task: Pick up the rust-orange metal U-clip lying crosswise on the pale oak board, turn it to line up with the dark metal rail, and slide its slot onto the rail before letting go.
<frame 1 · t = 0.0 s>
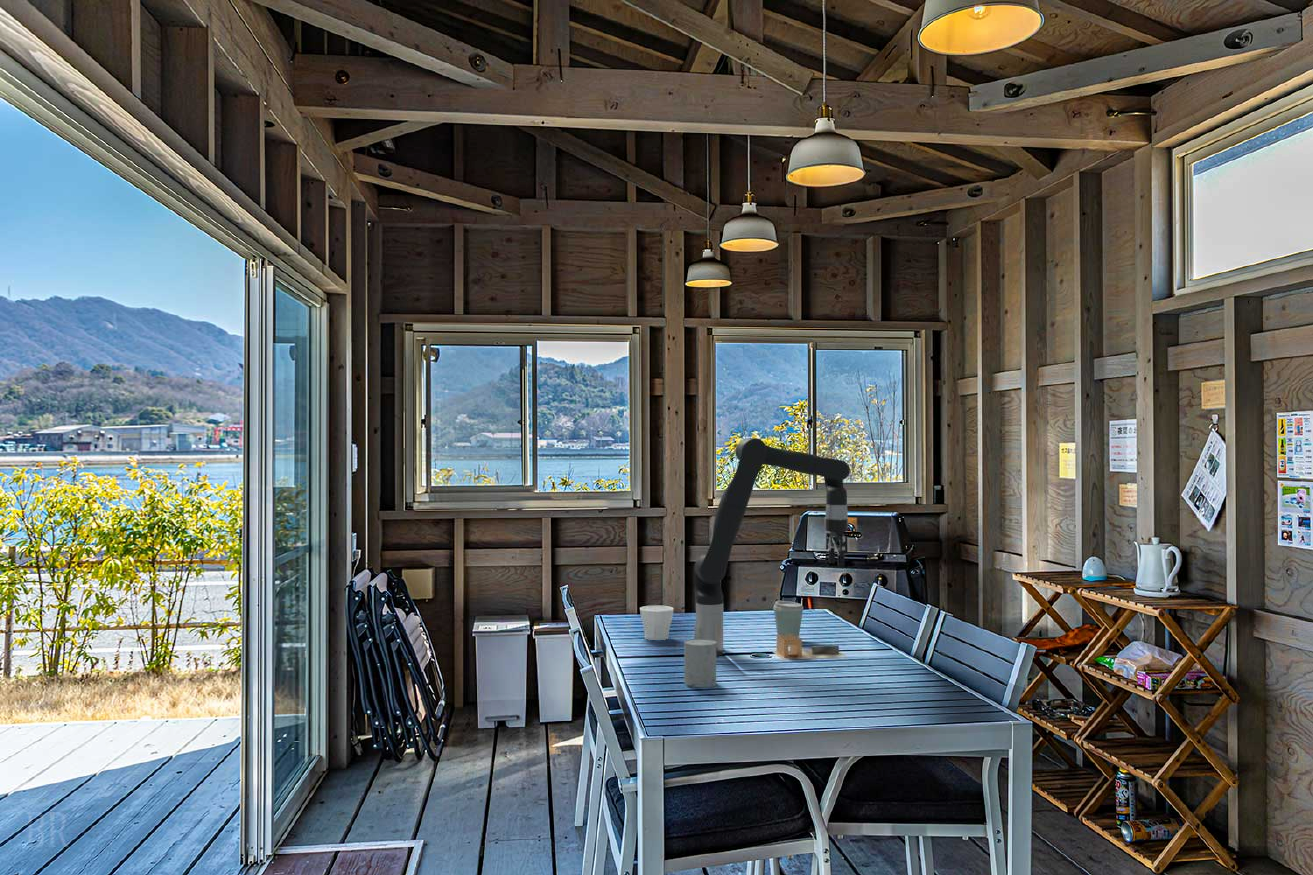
hand: (836, 564, 326), 29 cm above the table, tool pointing down, fingers open, 8 cm apart
cup: (656, 639, 343), on the table
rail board: (809, 658, 311), on the table
disposable coffee cup: (788, 645, 333), on the table
lock clip: (789, 654, 310), point 1 cm above the table, touching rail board
grey cylinder: (700, 684, 278), on the table
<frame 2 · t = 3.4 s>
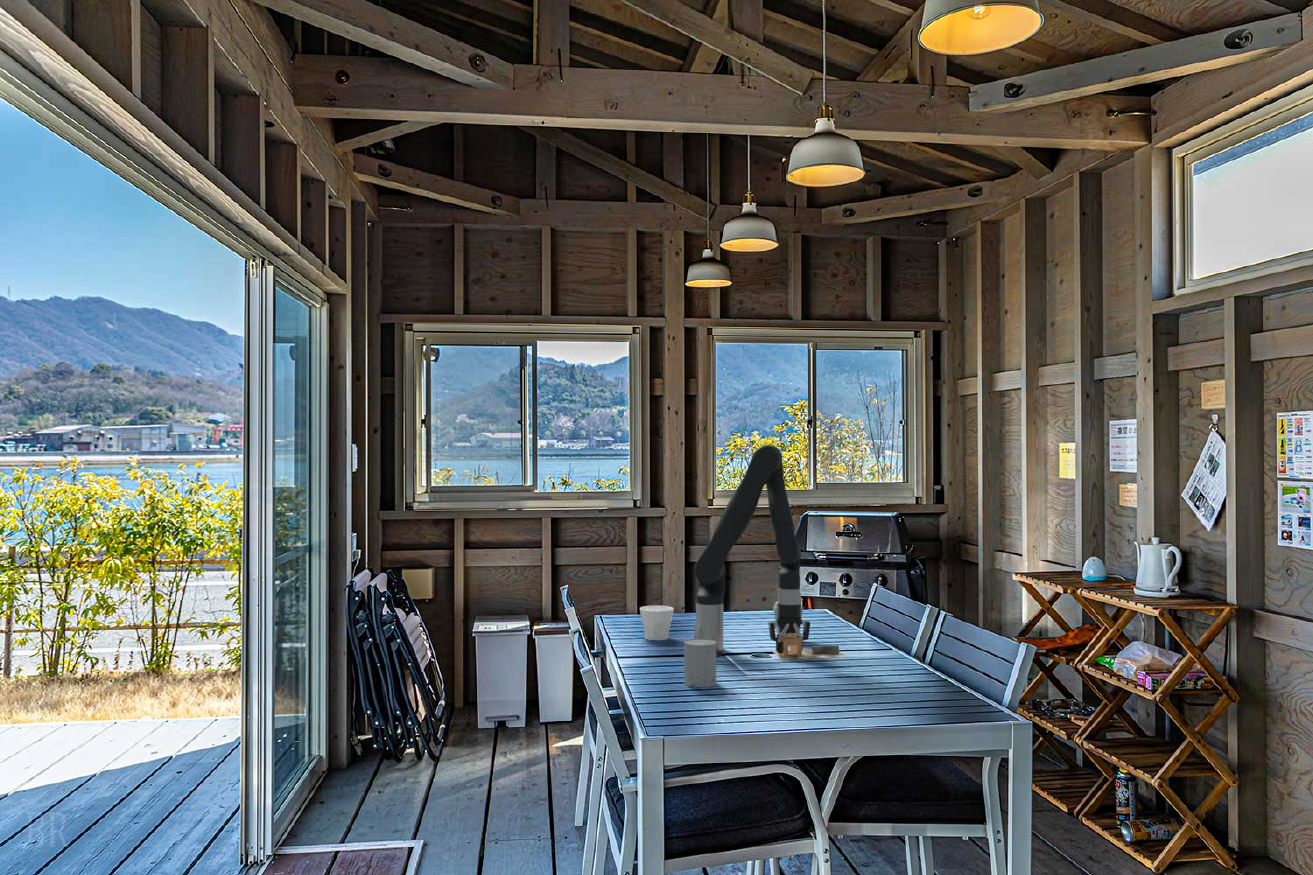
hand: (789, 652, 310), 2 cm above the table, tool pointing down, fingers closed on lock clip, 6 cm apart
lock clip: (789, 654, 310), point 1 cm above the table, touching gripper, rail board
everything else where it was.
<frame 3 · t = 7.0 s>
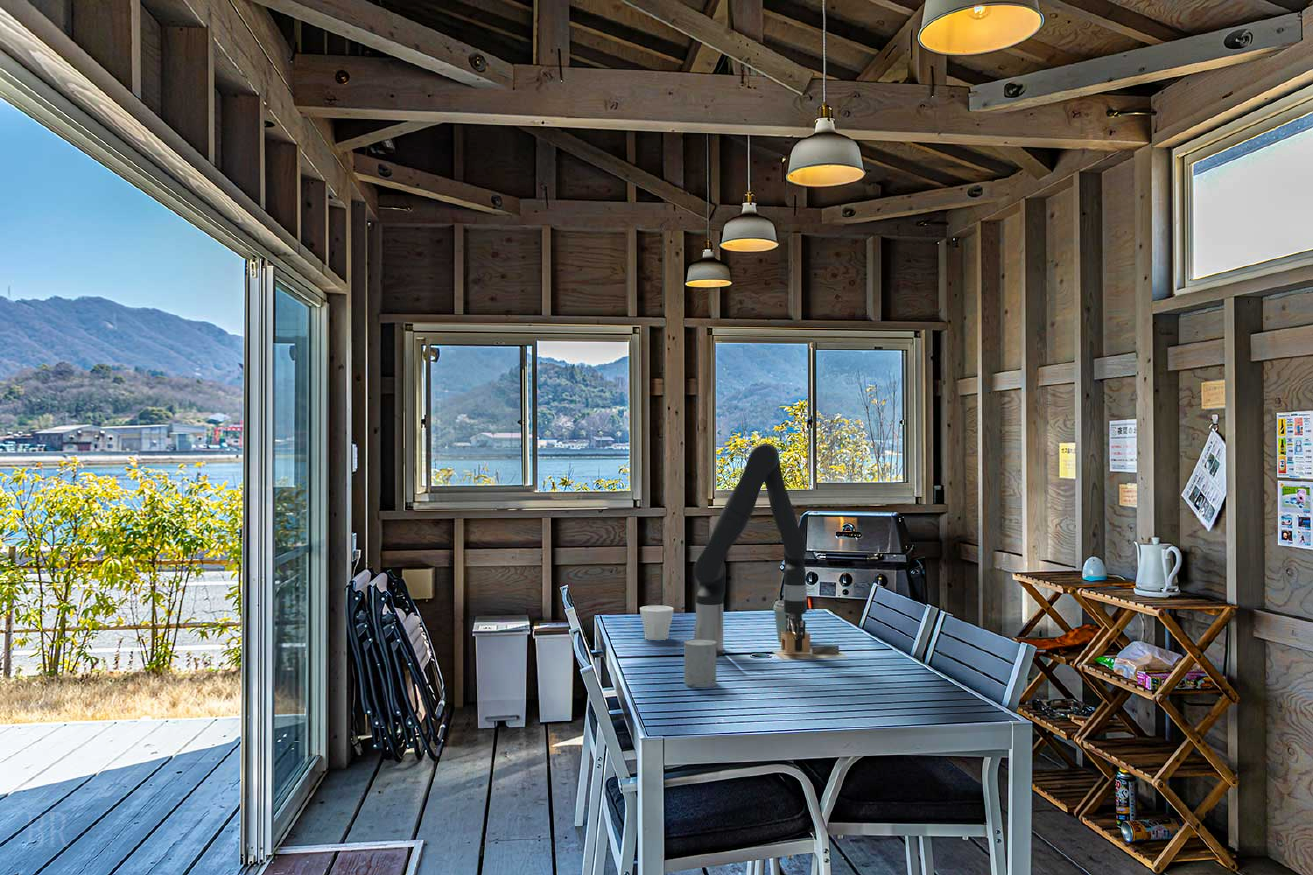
hand: (795, 648, 310), 3 cm above the table, tool pointing down, fingers closed on lock clip, 6 cm apart
lock clip: (795, 650, 310), point 3 cm above the table, touching gripper
everything else where it was.
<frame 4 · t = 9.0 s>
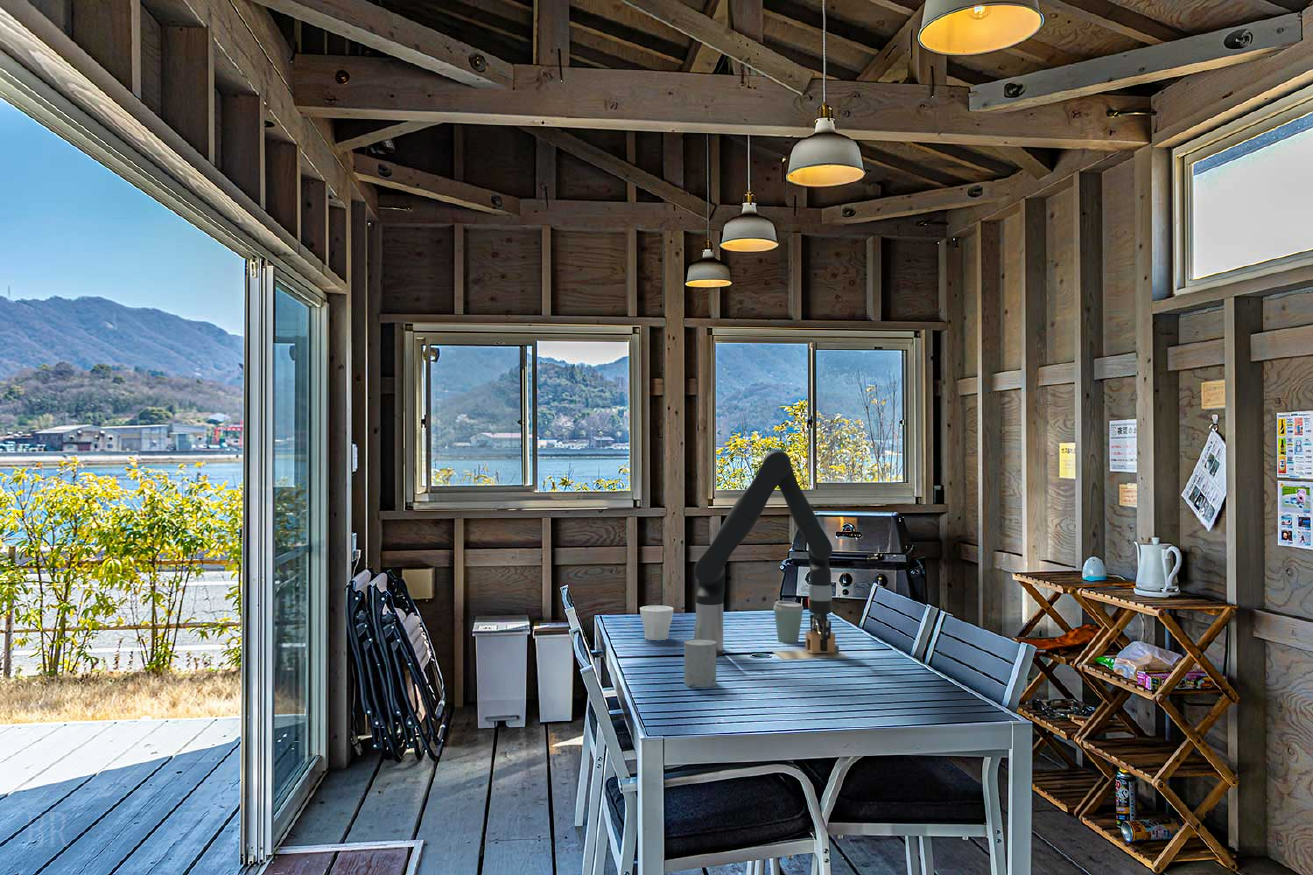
hand: (820, 648, 312), 3 cm above the table, tool pointing down, fingers closed on lock clip, 6 cm apart
lock clip: (820, 650, 312), point 3 cm above the table, touching gripper
everything else where it was.
when the fingers open (3 cm above the table, at t = 10.8 s): lock clip stays where it is, resting on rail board.
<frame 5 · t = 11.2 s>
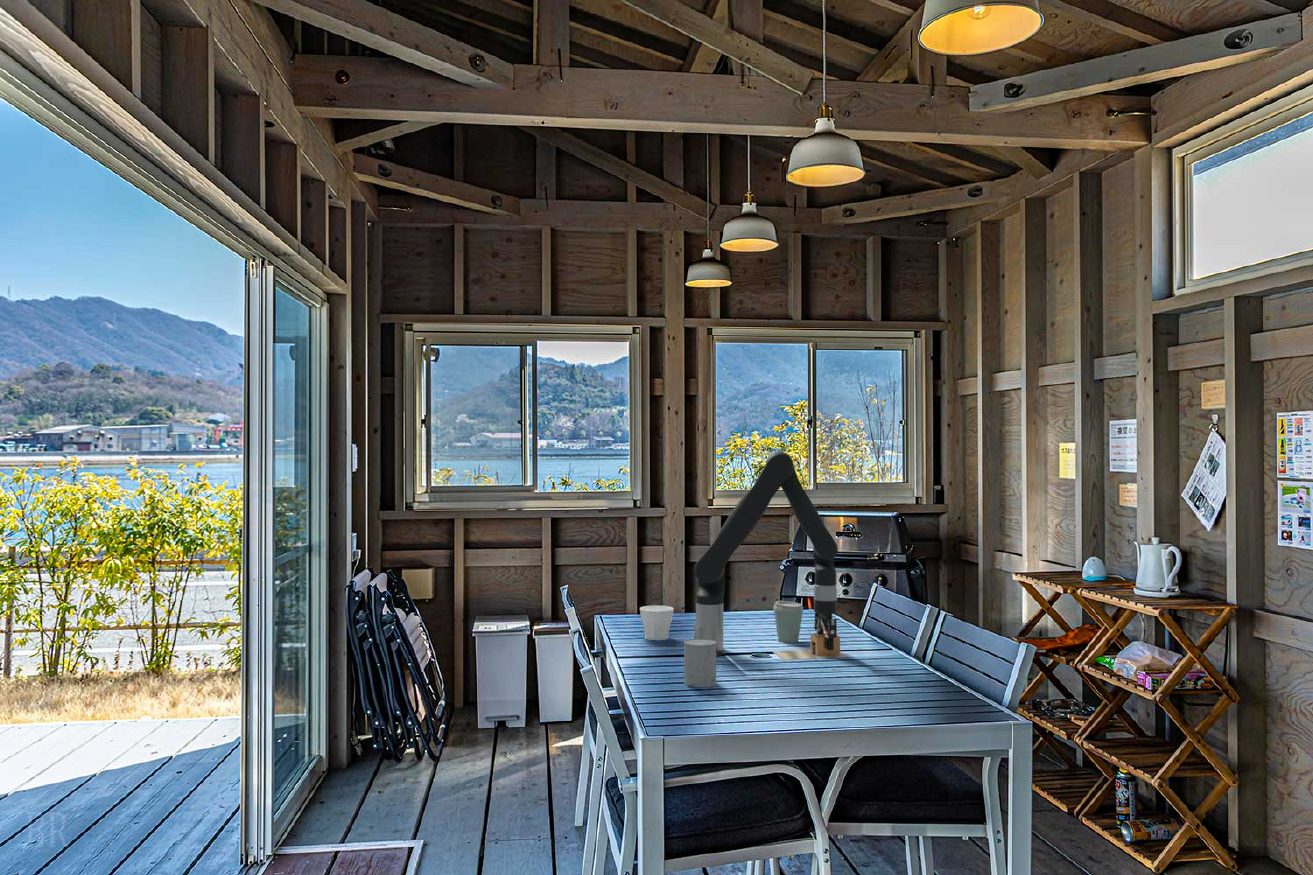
hand: (825, 647, 312), 4 cm above the table, tool pointing down, fingers open, 8 cm apart
lock clip: (825, 653, 312), point 1 cm above the table, touching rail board
everything else where it was.
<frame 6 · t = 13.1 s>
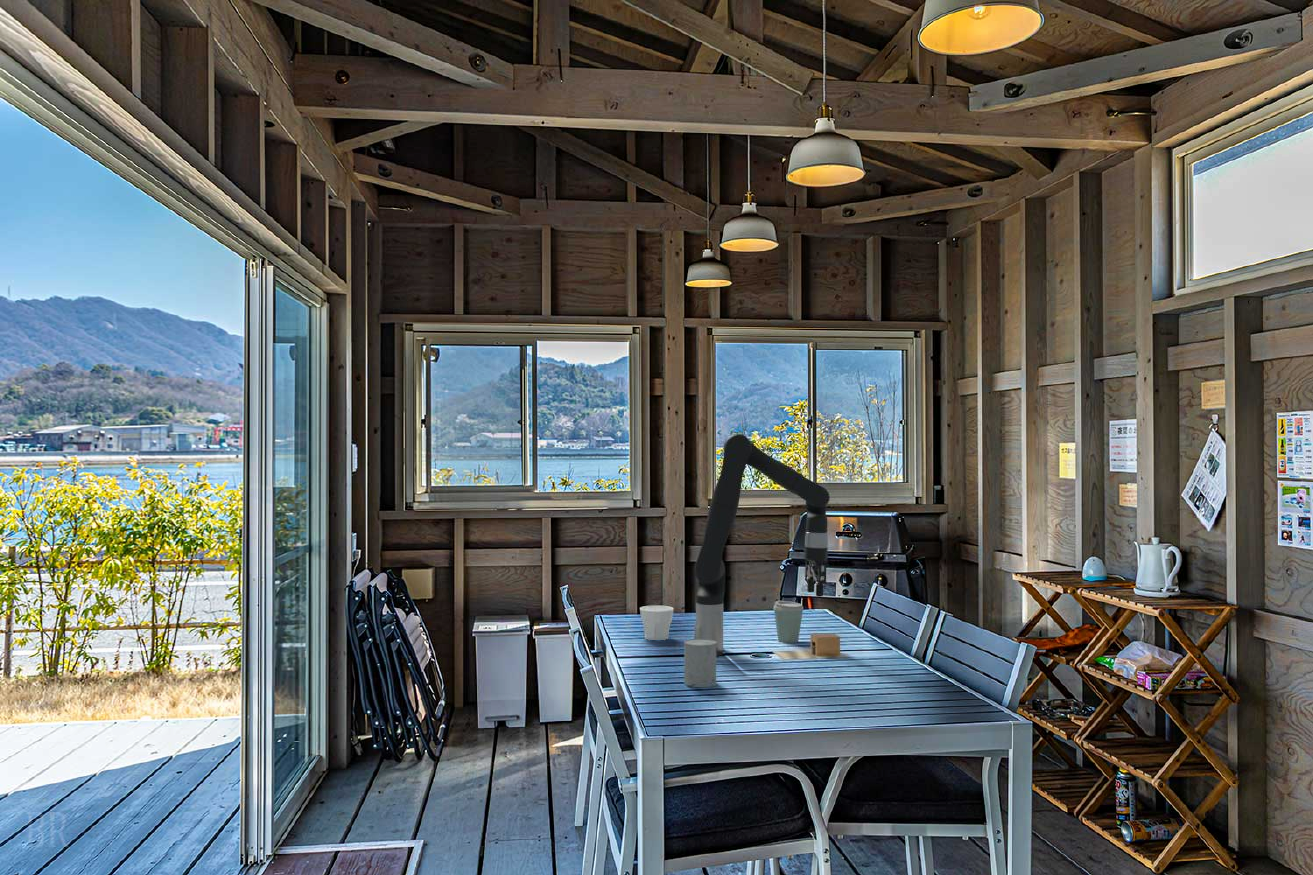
hand: (814, 594, 315), 21 cm above the table, tool pointing down, fingers open, 8 cm apart
nothing on the table moved.
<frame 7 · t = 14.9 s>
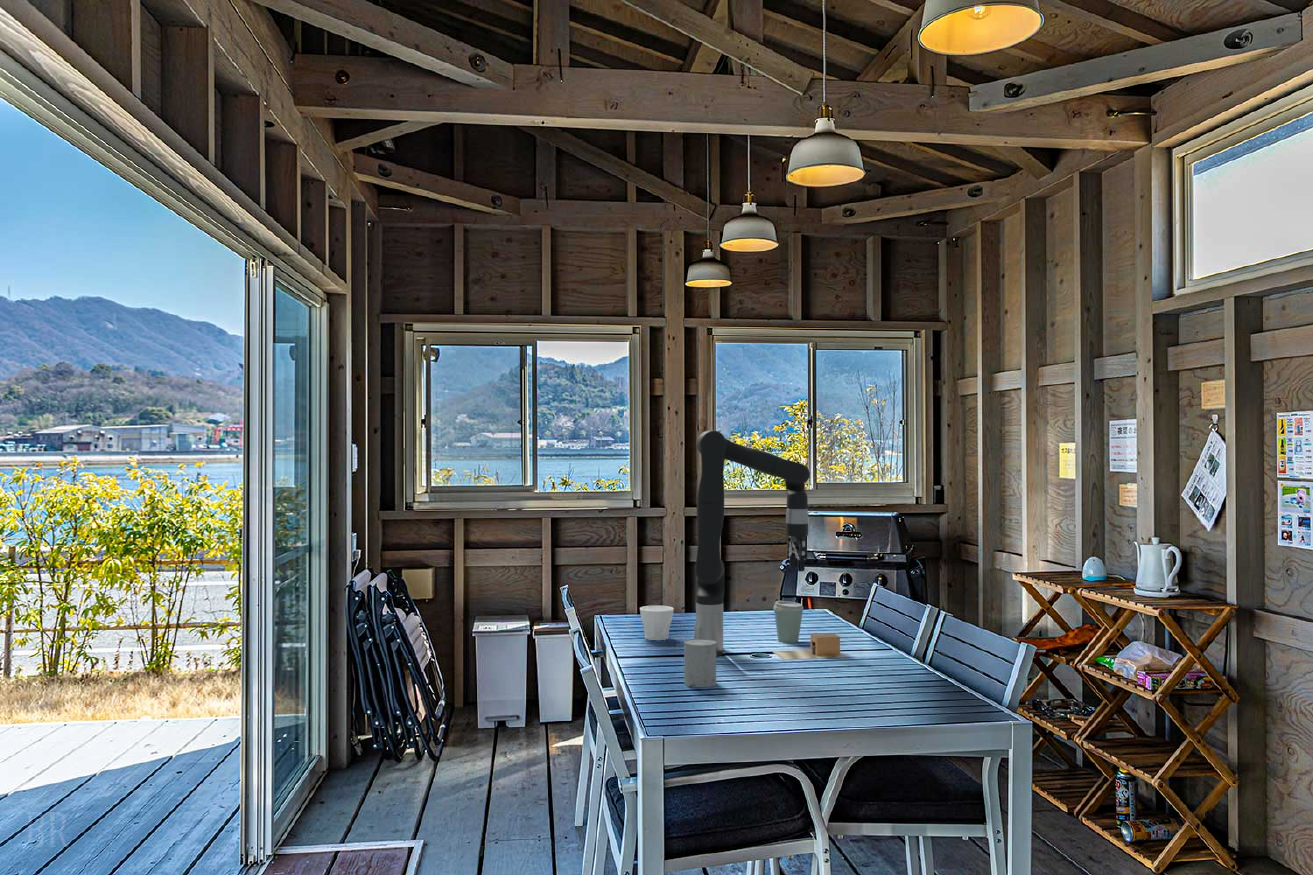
hand: (796, 569, 321), 28 cm above the table, tool pointing down, fingers open, 8 cm apart
nothing on the table moved.
at the end: lock clip 0.1 cm from the target spot on the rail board, point 1.5 cm above the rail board's base; lock clip tilted 0°; the gripper is holding nothing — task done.
